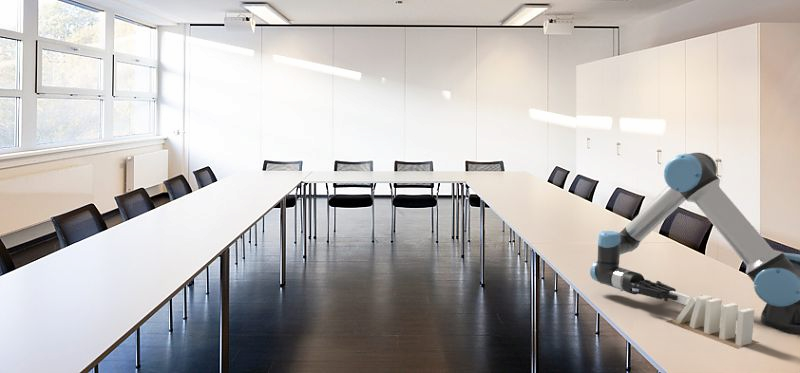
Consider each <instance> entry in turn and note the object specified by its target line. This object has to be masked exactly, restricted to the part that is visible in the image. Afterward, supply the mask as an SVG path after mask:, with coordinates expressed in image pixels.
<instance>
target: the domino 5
mask: <svg viewBox="0 0 800 373" xmlns="http://www.w3.org/2000/svg"><path fill="white" fill-rule="evenodd" d="M754 318H755V309H753V308H750V307H748V308H744V309H739V310H737V320H736V332H735V334H736V343H735V344H737V345H739V346H743V345H746V344H750V343H752V340H753V332H754Z"/></svg>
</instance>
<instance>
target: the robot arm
mask: <svg viewBox="0 0 800 373" xmlns="http://www.w3.org/2000/svg"><path fill="white" fill-rule="evenodd" d="M663 172H664V173H663V178H664V181H665V183H666V184H667V186H666V187H665V188H664V189H663V190H662V191H661V192H660V193H659V194H657V196H656V197H655V198H654V199H652V200H651V202H650V203H649V204H647V205H646V206H645V207H644V208H643V209H642V210H641V211H640V213H638V214H637V215H636V216H635V217H634V218H633V219H632V220H631V221H630V222H629V223H628V224H627V225H626V226H625V227H624V228H623V229H622V230H621V231H619V232H618V231H614V230H613V231H612V230H603V231H600V232H599V234H598V239H597V260H596V261H595V262H593V263H592V264H591V268H590V269H589V276H590V278H592V280H594V282H595V281H596V282H598V283H600V284H602V285H606V286H609V287H612V288H614V289H617V290H619V291H620V292H625V293H629V294H631V295H642V296H646V297H650V298H654V299H658V300H663V299H664V302H668V301H669V300H670V301H672V302H676V303H677V304H682V305H684V306H686V305H687V303H688V302H689V301H690V299H691V296H689V295H688V294H684V293H681V292H679V291H678V292H677V291H676V288H674V287H672V286H669V285H667V284H665V283H663V282H661V281H659V280H657V281H655V282H653V281H651V280H648V279H645V277H644V276H643V274H642V273H640V272H635V271H632V270H630V269H626V268H624V267H621V266H620V256H621V255H623V254H627V253H629V252H633V251H634V250H636V249H637V248H638V247H639V245H640V243H641V242H642V241H643V240H644V239H645V238H646V237H647V236H648V235H650V233H651V232H652V231H654V230H655V229H656V228H657V227H658V226H659V225H660V224H662V222H663V221H665V220H666V219H667V218H668V217H669V216H670V215H672V213H673V212H674V211H676V209H678V208H679V207H680V206H682V204H683V203H684V202H685V201H687V202H689V203H694V204H695V205H696V206H697V207H698V208H699V210H700V211H701V212H702V213H703V215H704V216H705V217H706V218H707V219H708V221H709V222H710V223H711V224H712V225H713V226H714V227H715V229H716V230H717V231H718V232H719V234H720V235H721V236H722V237H723V239H724V240H725V241H726V242H727V243H728V244H729V246H730V248H732V250H733V251H734V252H735V253H736V254H737V256H739V258H740V259H741V260H742V262H743V263H744V265H745V266H746V270H745V273H746V275H747V276H748V277H749V279H750V280H751V281H752V282H753V289H754V292H755V293H756V295H757V297H758V298H759V299H761V300H762V302H764V303H766V304H765V306H764V307H763V310H762V312H761V315H760V322H761V323H762V324H763V325H764V326H766V327H769V328H771V329H774V330H777V331H781V332H786V333H789V334H790V333H792V334H798V335H800V254H797V253H789V252H783V251H779V250H775V249H773V248H772V247H771V246H770V244H768V242H767V241H766V240H765V239H764V237H763V236H762V235H761V234H760V233H759V231H758V230H757V229H756V227H754V226H753V225H752V224H751V222H750V221H749V220H748V219H747V218H746V216H745V215H744V213H742V212H741V211H740V209H739V208H738V207H737V206H736V205H735V203H734V202H733V201H732V200H731V199H730V198H729V197H728V196H727V193H725V191H724V190H723V189H722V188H721V187H720V183H721V180H720V178H719V177H718V175H717V172H718V168H717V164H716V161H715V159H713V157H711V156H710V155H708V154H707V153H704V152H691V153H682V154H681V153H680V154H679V155H676V156H673V157H672V158H670V160H669V161H668V162H667V163H666V165H665V166H664V170H663Z"/></svg>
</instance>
